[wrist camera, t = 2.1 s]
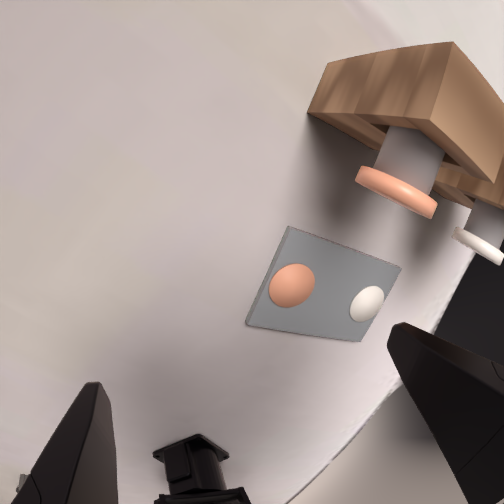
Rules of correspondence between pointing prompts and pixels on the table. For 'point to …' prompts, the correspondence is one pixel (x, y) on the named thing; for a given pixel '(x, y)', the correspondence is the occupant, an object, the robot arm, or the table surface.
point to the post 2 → (470, 187)
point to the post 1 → (417, 103)
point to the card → (321, 288)
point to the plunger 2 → (483, 231)
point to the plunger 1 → (405, 170)
